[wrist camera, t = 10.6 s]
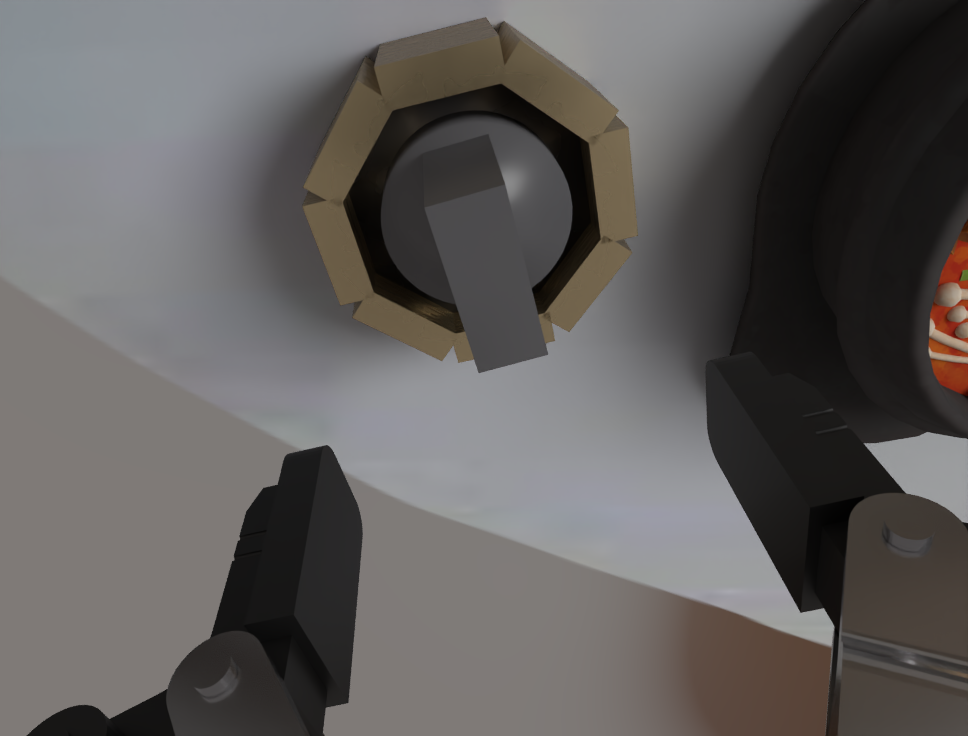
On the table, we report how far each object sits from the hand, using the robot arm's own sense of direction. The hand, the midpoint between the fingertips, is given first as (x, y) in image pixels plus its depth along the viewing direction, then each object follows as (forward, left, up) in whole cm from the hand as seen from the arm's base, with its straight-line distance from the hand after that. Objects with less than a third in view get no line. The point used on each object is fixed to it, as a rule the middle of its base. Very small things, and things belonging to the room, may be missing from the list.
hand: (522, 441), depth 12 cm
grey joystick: (0, 0, -12) cm, 12 cm away
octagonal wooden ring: (0, 0, -15) cm, 15 cm away
